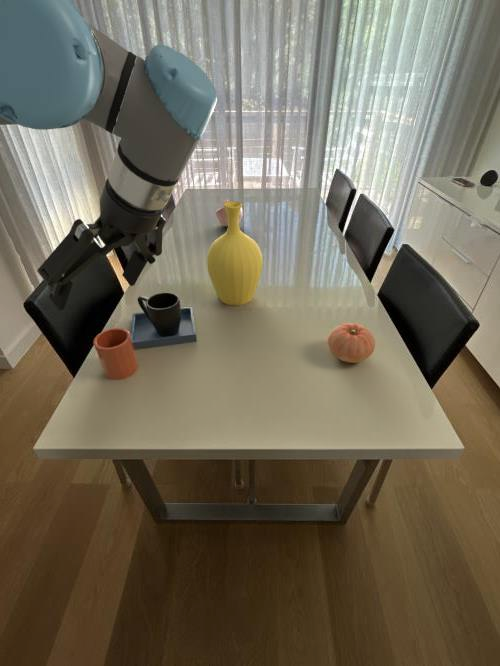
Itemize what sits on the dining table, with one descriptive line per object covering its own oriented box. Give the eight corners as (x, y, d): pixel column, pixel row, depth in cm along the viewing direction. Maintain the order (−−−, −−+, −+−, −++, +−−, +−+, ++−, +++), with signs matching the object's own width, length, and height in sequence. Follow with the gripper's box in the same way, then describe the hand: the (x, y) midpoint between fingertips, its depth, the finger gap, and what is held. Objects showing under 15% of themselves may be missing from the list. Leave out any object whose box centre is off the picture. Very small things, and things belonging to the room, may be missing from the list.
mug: (155, 315, 96) (149, 286, 90) (190, 327, 91) (185, 296, 86) (135, 331, 90) (127, 300, 84) (171, 344, 86) (165, 313, 80)
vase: (231, 279, 114) (227, 192, 97) (271, 293, 106) (275, 201, 89) (199, 300, 103) (188, 206, 86) (241, 317, 96) (239, 218, 79)
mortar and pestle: (234, 220, 161) (233, 194, 154) (247, 227, 153) (247, 201, 146) (211, 224, 156) (210, 199, 149) (224, 232, 147) (223, 206, 141)
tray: (131, 350, 85) (129, 343, 83) (134, 320, 95) (132, 313, 94) (197, 341, 87) (196, 334, 86) (192, 313, 98) (192, 306, 96)
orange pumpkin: (380, 356, 82) (387, 329, 78) (353, 377, 77) (360, 350, 72) (343, 335, 89) (348, 310, 84) (316, 353, 83) (320, 327, 78)
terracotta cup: (102, 382, 76) (90, 351, 70) (106, 360, 82) (96, 330, 76) (137, 377, 77) (128, 346, 72) (139, 355, 83) (131, 326, 78)
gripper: (61, 228, 34) (33, 336, 48) (216, 204, 52) (163, 287, 66) (17, 172, 34) (2, 295, 48) (185, 169, 53) (139, 258, 67)
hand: (95, 290), depth 57 cm, fingers open, 13 cm apart
